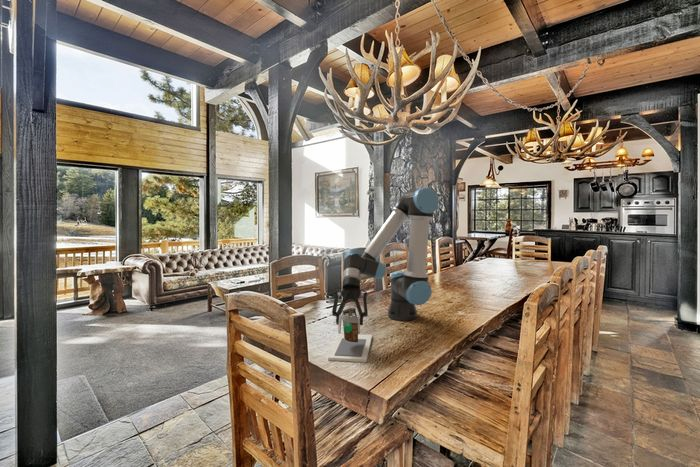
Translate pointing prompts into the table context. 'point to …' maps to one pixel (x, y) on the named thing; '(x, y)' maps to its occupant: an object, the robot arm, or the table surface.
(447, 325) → the table surface
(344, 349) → the board
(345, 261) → the robot arm
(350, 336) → the food container
